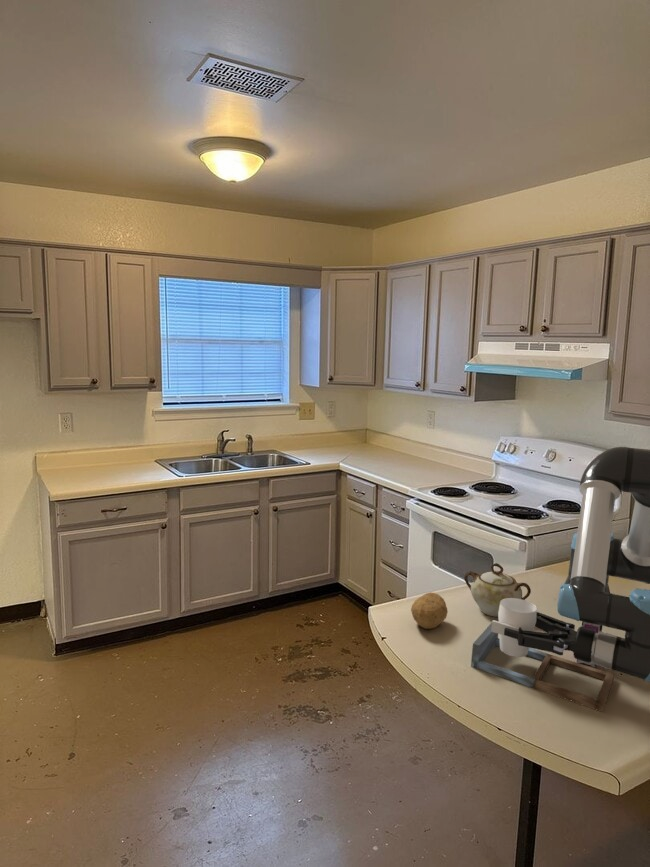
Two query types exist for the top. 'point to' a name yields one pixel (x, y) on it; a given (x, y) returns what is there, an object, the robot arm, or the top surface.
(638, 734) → the top surface
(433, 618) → the potato
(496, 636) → the bay frame
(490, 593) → the sugar bowl
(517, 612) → the cup
